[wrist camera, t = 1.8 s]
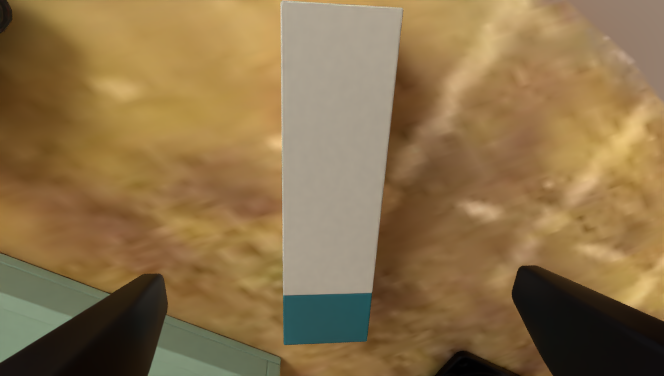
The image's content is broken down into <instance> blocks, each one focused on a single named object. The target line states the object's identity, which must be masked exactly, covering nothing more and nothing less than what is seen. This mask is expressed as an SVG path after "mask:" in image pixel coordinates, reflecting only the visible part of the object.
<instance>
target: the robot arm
mask: <svg viewBox="0 0 664 376" xmlns="http://www.w3.org/2000/svg"><path fill="white" fill-rule="evenodd" d="M512 299H513V302H514V304H515V306H516V308H517V310H518V312H519V314H520V316H521V318H522V320H523V322H524V324H525V326H526V328H527V330H528V332H529V334H530V336H531V338H532V340H533V342H534V344H535V346H536V348H537V350H538V351H539V353H540V355H541V357H542V358H543V360H544V362H545V364H546V365H547V367H548V368H549V370H550V372H551V373H552V375H553V376H664V321H662V320H659V319H657V318H655V317H653V316H650V315H648V314H646V313H643V312H641V311H639V310H637V309H634V308H632V307H630V306H628V305H625V304H623V303H621V302H619V301H616V300H614V299H612V298H609V297H607V296H605V295H603V294H600V293H598V292H596V291H594V290H591V289H589V288H587V287H584V286H582V285H580V284H578V283H575V282H573V281H571V280H569V279H566V278H564V277H562V276H559V275H557V274H555V273H553V272H550V271H548V270H546V269H544V268H541V267H539V266H535V265H534V266H521V267H520V268H519V269H518V271H517V275H516V278H515V282H514V285H513V289H512ZM167 307H168V301H167V295H166V289H165V283H164V278H163V276H162V275H161V274H143V275H141V276H139V277H137V278H136V279H134V280H133V281H131V282H129V283H128V284H126V285H125V286H123V287H121V288H120V289H118V290H117V291H115V292H113V293H112V294H110V295H108V296H107V297H105V298H104V299H102V300H100V301H99V302H97V303H96V304H94V305H92V306H91V307H89V308H88V309H86V310H84V311H83V312H81V313H80V314H78V315H76V316H75V317H73V318H71V319H70V320H68V321H67V322H65V323H63V324H62V325H60V326H59V327H57V328H55V329H54V330H52V331H50V332H49V333H47V334H46V335H44V336H42V337H41V338H39V339H38V340H36V341H34V342H33V343H31V344H30V345H28V346H26V347H25V348H23V349H21V350H20V351H18V352H17V353H15V354H13V355H12V356H10V357H9V358H7V359H5V360H4V361H2V362H1V363H0V376H148V374H149V371H150V368H151V365H152V361H153V358H154V354H155V351H156V348H157V344H158V341H159V337H160V334H161V330H162V327H163V323H164V320H165V316H166V313H167ZM435 376H519V375H517V374H514V373H512V372H510V371H508V370H506V369H503V368H501V367H499V366H497V365H495V364H492V363H490V362H488V361H486V360H484V359H482V358H479V357H477V356H475V355H473V354H471V353H468V352H466V351H460V352H457V353H456V354H455V355H454V356H453V357H452V358H451V359H450V360H449V361H448V362H447V363H446V364H445V365H444V366H443V367H442V368H441V369H440V370H439V371H438V373H437V374H436V375H435Z"/></svg>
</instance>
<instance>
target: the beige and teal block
mask: <svg viewBox="0 0 664 376" xmlns="http://www.w3.org/2000/svg"><path fill="white" fill-rule="evenodd" d="M402 17H403V8H396V7H380V6H364V5H347V4H331V3H315V2H298V1H281V97H282V213H283V329H284V345H296V344H319V343H342V342H365V341H367V335H368V326H369V317H370V308H371V299H372V290H373V281H374V272H375V263H376V253H377V244H378V235H379V226H380V217H381V208H382V199H383V190H384V181H385V172H386V163H387V153H388V144H389V135H390V126H391V117H392V108H393V99H394V90H395V81H396V72H397V62H398V53H399V44H400V35H401V26H402Z"/></svg>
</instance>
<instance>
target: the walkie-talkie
mask: <svg viewBox="0 0 664 376" xmlns="http://www.w3.org/2000/svg"><path fill="white" fill-rule="evenodd" d="M11 21H12V10H11V8H10V6H9V4H8V2H7V0H0V33H2V32H4V31H5V30H6V28H7V27H8V25H9V24H10V22H11Z"/></svg>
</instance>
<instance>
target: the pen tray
mask: <svg viewBox="0 0 664 376" xmlns="http://www.w3.org/2000/svg"><path fill="white" fill-rule="evenodd" d="M108 295H110V294H108V293H106V292H103V291H100V290H98V289H95V288H92V287H90V286H87V285H84V284H82V283H79V282H76V281H74V280H71V279H68V278H66V277H63V276H60V275H58V274H55V273H52V272H50V271H47V270H44V269H42V268H39V267H36V266H33V265H31V264H28V263H25V262H23V261H20V260H17V259H15V258H12V257H9V256H7V255H4V254H1V253H0V363H1V362H2V361H4V360H5V359H7V358H9V357H10V356H12V355H13V354H15V353H17V352H18V351H20V350H21V349H23V348H25V347H26V346H28V345H30V344H31V343H33V342H34V341H36V340H38V339H39V338H41V337H42V336H44V335H46V334H47V333H49V332H50V331H52V330H54V329H55V328H57V327H59V326H60V325H62V324H63V323H65V322H67V321H68V320H70V319H71V318H73V317H75V316H76V315H78V314H80V313H81V312H83V311H84V310H86V309H88V308H89V307H91V306H92V305H94V304H96V303H97V302H99V301H100V300H102V299H104V298H105V297H107V296H108ZM280 364H281V358H280V357H277V356H275V355H272V354H269V353H266V352H264V351H261V350H258V349H256V348H253V347H250V346H248V345H245V344H242V343H240V342H237V341H234V340H232V339H229V338H226V337H224V336H221V335H218V334H216V333H213V332H210V331H208V330H205V329H202V328H200V327H197V326H194V325H191V324H189V323H186V322H183V321H181V320H178V319H175V318H173V317H170V316H167V315H166V316H165V320H164V323H163V327H162V330H161V334H160V337H159V341H158V344H157V348H156V351H155V354H154V358H153V361H152V365H151V368H150V371H149V374H148V376H280Z"/></svg>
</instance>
